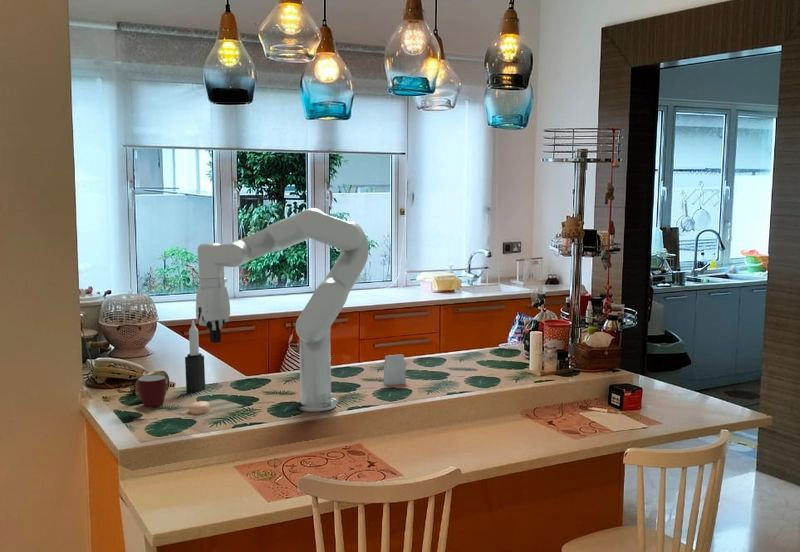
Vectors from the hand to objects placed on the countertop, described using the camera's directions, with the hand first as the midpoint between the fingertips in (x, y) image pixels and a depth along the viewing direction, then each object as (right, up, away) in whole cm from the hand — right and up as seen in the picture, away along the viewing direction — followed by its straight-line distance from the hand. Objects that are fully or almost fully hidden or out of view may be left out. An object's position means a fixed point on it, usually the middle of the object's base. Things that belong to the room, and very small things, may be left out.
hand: (215, 342), depth 243 cm
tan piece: (-2, -21, -3) cm, 22 cm away
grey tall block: (+55, -17, +32) cm, 66 cm away
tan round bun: (-3, -21, -6) cm, 22 cm away
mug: (-20, -21, +2) cm, 29 cm away
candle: (-11, -19, +20) cm, 30 cm away
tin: (-24, -20, +16) cm, 35 cm away
